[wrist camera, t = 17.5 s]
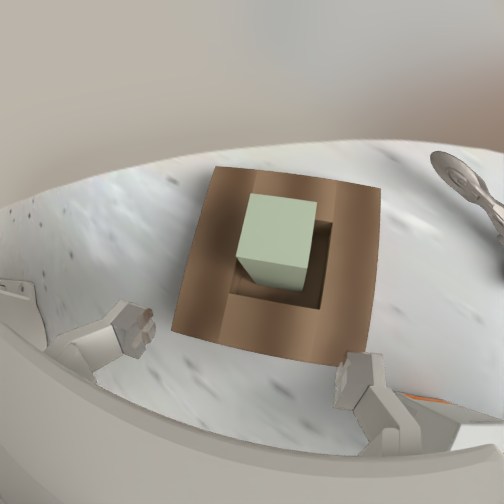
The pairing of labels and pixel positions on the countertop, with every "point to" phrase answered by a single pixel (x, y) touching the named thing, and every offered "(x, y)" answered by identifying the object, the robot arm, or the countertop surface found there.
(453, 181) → the spaceship
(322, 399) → the countertop surface
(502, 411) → the countertop surface
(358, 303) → the walnut holder
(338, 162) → the countertop surface
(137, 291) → the countertop surface
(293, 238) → the green block
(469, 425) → the skincare box
